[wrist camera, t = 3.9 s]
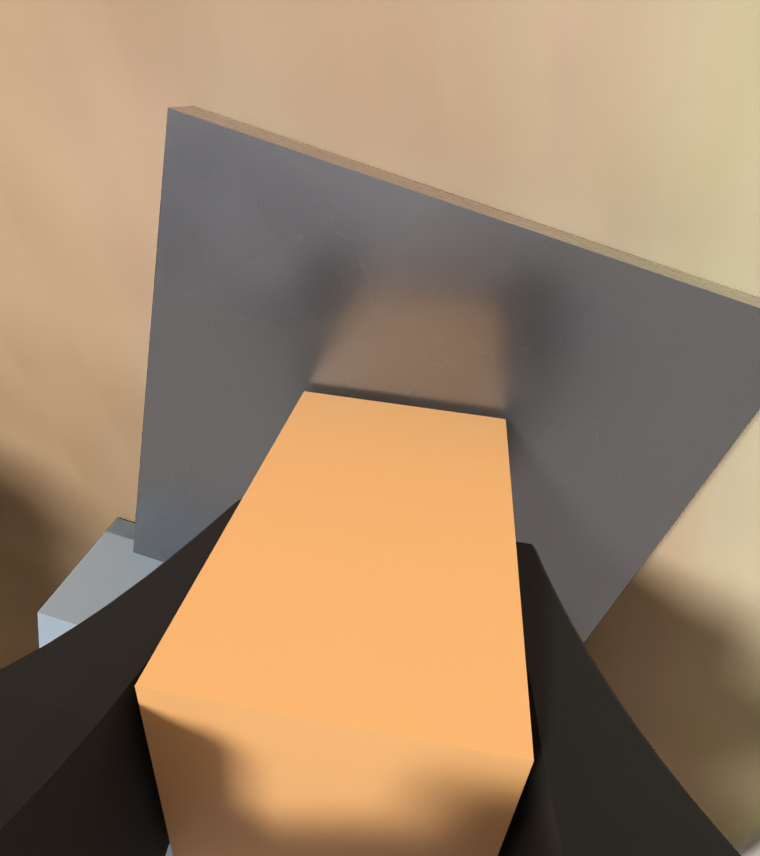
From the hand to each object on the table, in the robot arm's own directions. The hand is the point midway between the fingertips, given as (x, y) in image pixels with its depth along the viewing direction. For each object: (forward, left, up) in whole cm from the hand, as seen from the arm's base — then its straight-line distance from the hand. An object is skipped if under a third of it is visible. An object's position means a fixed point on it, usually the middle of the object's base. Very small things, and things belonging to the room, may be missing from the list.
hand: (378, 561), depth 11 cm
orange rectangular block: (0, 0, -2) cm, 2 cm away
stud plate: (0, 0, -4) cm, 4 cm away
